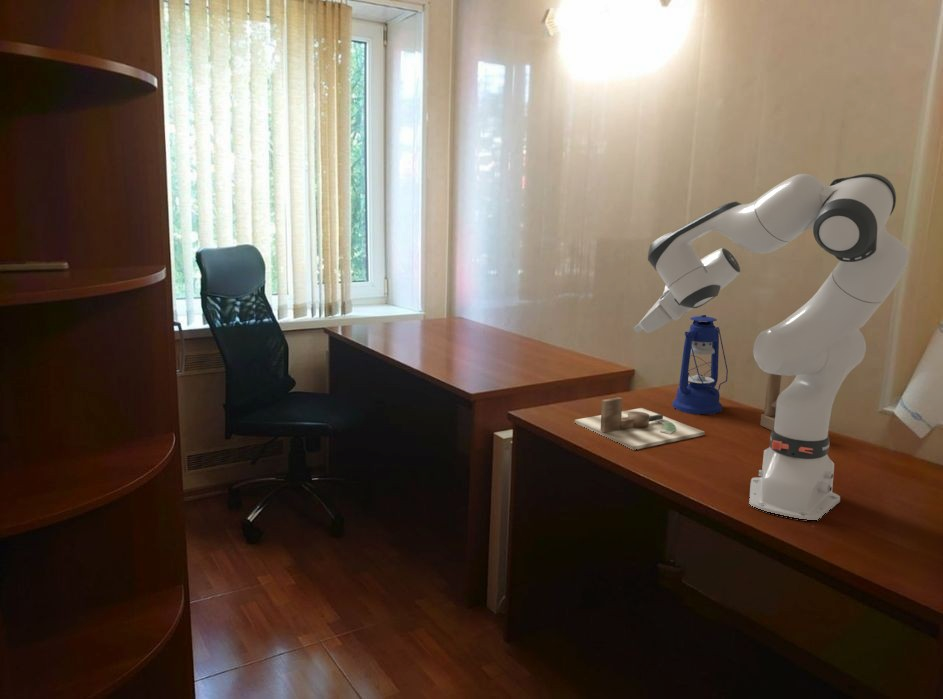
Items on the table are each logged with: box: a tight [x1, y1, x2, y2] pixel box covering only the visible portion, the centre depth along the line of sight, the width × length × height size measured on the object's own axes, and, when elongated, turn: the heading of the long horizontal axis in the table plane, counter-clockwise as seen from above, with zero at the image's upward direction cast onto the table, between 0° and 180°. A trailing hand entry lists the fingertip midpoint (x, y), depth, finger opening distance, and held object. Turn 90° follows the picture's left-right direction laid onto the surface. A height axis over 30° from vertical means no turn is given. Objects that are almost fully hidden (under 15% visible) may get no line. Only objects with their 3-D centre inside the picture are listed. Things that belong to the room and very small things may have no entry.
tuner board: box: [574, 407, 705, 451], centre depth 206 cm, size 26×26×1 cm
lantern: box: [672, 314, 729, 415], centre depth 224 cm, size 17×15×30 cm
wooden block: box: [760, 373, 782, 432], centre depth 203 cm, size 4×11×18 cm, turn 16°
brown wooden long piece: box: [600, 396, 664, 432], centre depth 204 cm, size 22×6×9 cm, turn 118°
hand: (642, 322), depth 188 cm, fingers open, 8 cm apart
